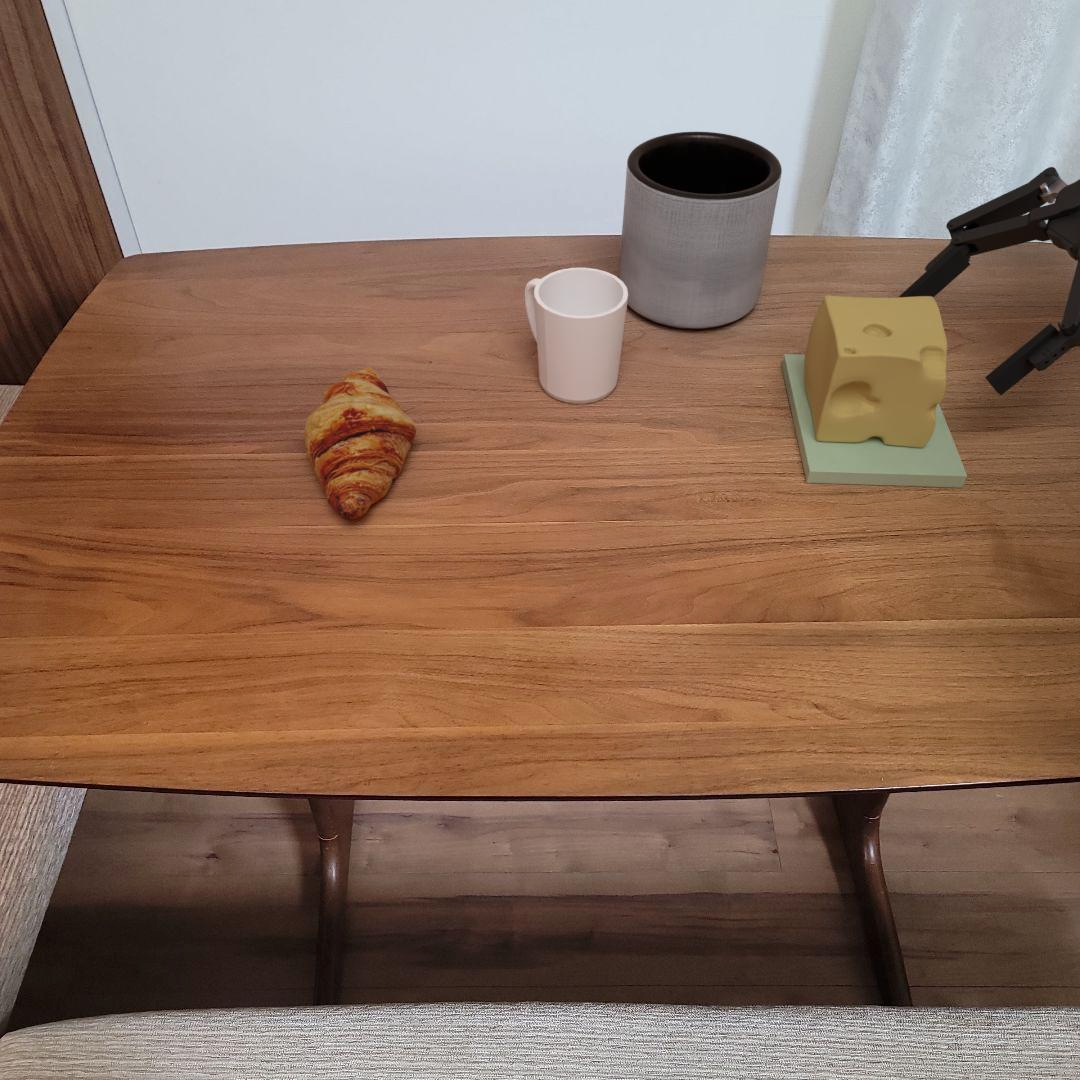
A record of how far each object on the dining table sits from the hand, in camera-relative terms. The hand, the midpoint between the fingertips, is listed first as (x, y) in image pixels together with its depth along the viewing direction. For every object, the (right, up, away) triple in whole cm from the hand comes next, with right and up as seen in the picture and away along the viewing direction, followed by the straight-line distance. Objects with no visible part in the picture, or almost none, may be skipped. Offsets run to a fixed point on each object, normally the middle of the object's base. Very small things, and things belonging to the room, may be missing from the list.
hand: (947, 344), depth 86 cm
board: (-6, -7, +4) cm, 10 cm away
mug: (-35, -1, +10) cm, 36 cm away
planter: (-21, +10, +20) cm, 31 cm away
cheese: (-7, -6, +3) cm, 10 cm away
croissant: (-54, -10, +2) cm, 55 cm away
